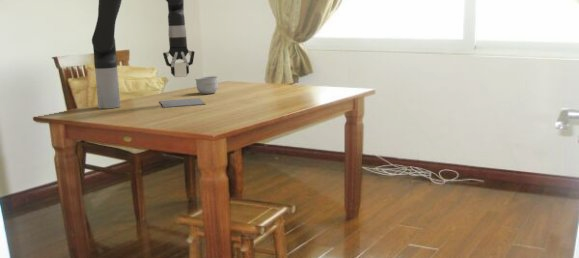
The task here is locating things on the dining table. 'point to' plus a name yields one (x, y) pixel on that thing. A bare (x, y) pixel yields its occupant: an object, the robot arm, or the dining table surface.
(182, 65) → the cream block
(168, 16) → the robot arm
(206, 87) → the teacup
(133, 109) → the dining table surface
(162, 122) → the dining table surface
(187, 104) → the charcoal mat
